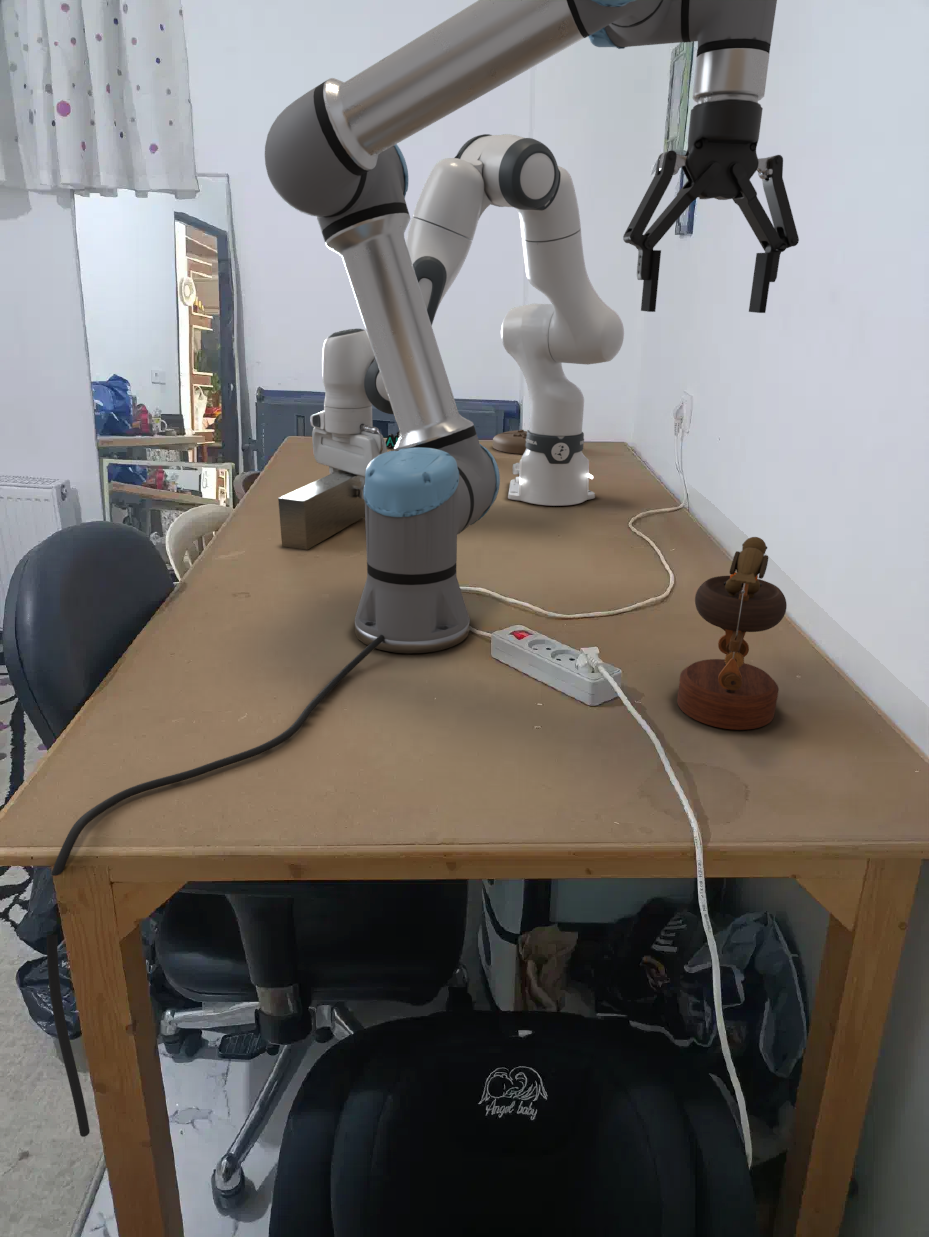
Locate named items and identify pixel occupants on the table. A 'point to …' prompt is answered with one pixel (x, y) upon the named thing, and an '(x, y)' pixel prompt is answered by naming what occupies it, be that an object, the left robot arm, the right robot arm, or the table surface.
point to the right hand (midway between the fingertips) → (351, 494)
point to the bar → (320, 509)
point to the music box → (734, 646)
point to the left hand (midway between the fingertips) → (702, 312)
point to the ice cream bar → (511, 441)
